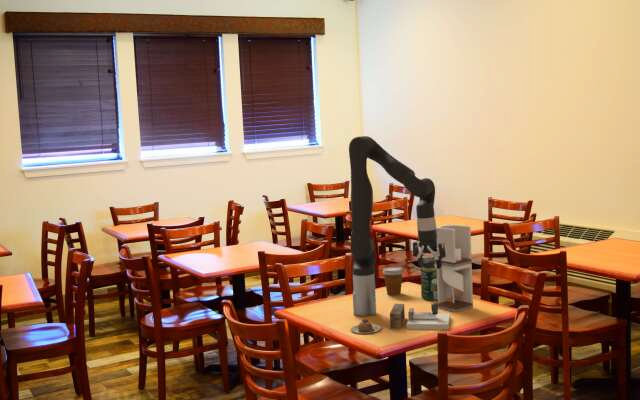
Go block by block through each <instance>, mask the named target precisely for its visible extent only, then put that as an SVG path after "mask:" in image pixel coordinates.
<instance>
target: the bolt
mask: <svg viewBox="0 0 640 400" xmlns="http://www.w3.org/2000/svg"><path fill="white" fill-rule="evenodd" d="M430 307H431V309H430V310H431V312H427V311H426V312H425V311H424V312H422V311H421V312H419V311H417V312H415V311H414V312H413V314H412V315H413V319H436V317H437V314H438V313H439V309H438V302H432V303H431V305H430Z"/></svg>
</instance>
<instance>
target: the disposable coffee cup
mask: <svg viewBox="0 0 640 400" xmlns="http://www.w3.org/2000/svg"><path fill="white" fill-rule="evenodd" d="M382 273H383V275H384V278H383V279H384V282H385V290H386V295H387V296H393V297H394V296H399V295H401V293H402V284H403V283H402V279H403V273H404V270H403V268H402V267H399V266H388V267H385V268H383V270H382Z"/></svg>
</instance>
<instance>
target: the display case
mask: <svg viewBox="0 0 640 400" xmlns="http://www.w3.org/2000/svg"><path fill="white" fill-rule="evenodd" d="M471 228H472V227H471V226H468V225H460V224H459V225H458V224H451V223H450V224H445V225H440V226H436V231H437V243H444V246H445V254H446V257H444V258H442V267H441V268H440V269H437V294H438V300H437V303H438V308H439V309H440V310H444V311H448V312H453V313H459V312H462V311H467V310H471V309H473V308H474V296H473V294H474V292H473V291H474V290H473V268H472V267H473V264H472V263H473V262H472V260H473V259H472V234H471V232H472V231H471ZM437 249H438V250H439V248H438V247H437ZM433 259H434V264H435V267H436V268H437V265H436V260H437V259H436V258H435V256H433ZM439 309H438V310H439Z"/></svg>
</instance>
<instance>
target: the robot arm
mask: <svg viewBox="0 0 640 400" xmlns="http://www.w3.org/2000/svg"><path fill="white" fill-rule="evenodd" d="M348 144H349V145H348V156H349V157H348V158H349V163H350V211H351V237H350V245H349V247H350V248H349V249H350V253H351V255H352V257H353V264H352V283H353V284H352V286H353V287H352V288H353V292H352V303H353V304H352V308H353V309H352V310H353V315H354V316H361V317H366V316H367V317H368V316H373V315H376V314H377V301H376V300H377V298H376V278H375V275H376V273H375V266H376V258H375V257H376V256H375V255H376V251H375V249H376V248H375V243H374V241H373V239H372V238H371V236H370V233H371V232H370V224H371V218H372V215H373V214H372V213H373V205H374V193H373V192H374V190H373V186H372V183H371V179H370V178H369V174H368V171H367V170H368V169H367V168H368V167H367V163H368V162H367V160H368V159H369V160H372V161H374V162H375V163H377V164H378V165H380V166H381V167H382V169H384V170H385V172H386V174H387V175H389V176H390V177H391V178H393V179H394V180H395V181H396V182H399V183H400V184H402V185H403V186H404V188H405V189H406V190H407V191H409V193H411V194H412V196H414V197H416V198H419V202H418V203H417V204H416V207H415V209H416V227H417V228H416V229H417V238H418V241H414V242H412V256H413V257H414V258H416V259H417V264H418V266H419V269H420V268H422V267H424V263H423V258H424V255H425V254H432V256H433V257H434V256H435V258H436V259H437V260H436V265H437V269H440V268H441V267H442V258H444V257H446V254H445V246H444V243H437V231H436V227H437V222H436V216H435V208H434V205H435V199H436V187H435V183H434V181H433V180H432V179H431V178H427V177H425V178H422V179H421V178H418V177H417V176H416V172H415V171H414V170H413V169H412V168H410V167H408V166H407V165H406V164H404V163H403V162H401V161H400V160H398V159H397V158H395V157H394V156H393V155H391V154H390V153H389V152H388V151H386V149H384V148H383V147H382V146H381V145H380V144H379V143H378V142H377V141H376V140H374V139H373V138H372V137H371V136H367V135H362V136H355V137H353V138H351V140H350V142H349V143H348ZM437 247H438V248H439V250H438V249H437ZM419 248H420V249H419Z"/></svg>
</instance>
